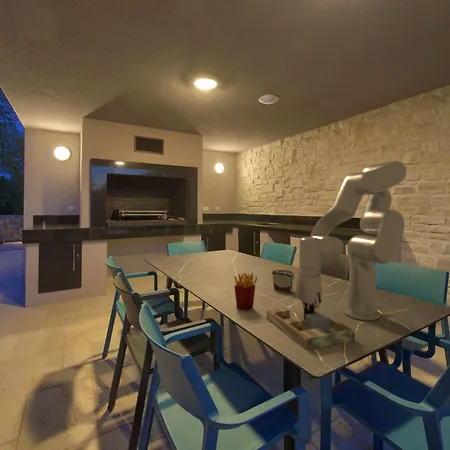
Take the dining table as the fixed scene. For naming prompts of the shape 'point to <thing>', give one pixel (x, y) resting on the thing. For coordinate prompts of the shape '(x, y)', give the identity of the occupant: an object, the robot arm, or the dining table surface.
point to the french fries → (245, 291)
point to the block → (317, 321)
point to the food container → (283, 280)
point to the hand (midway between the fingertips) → (308, 319)
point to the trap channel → (312, 336)
